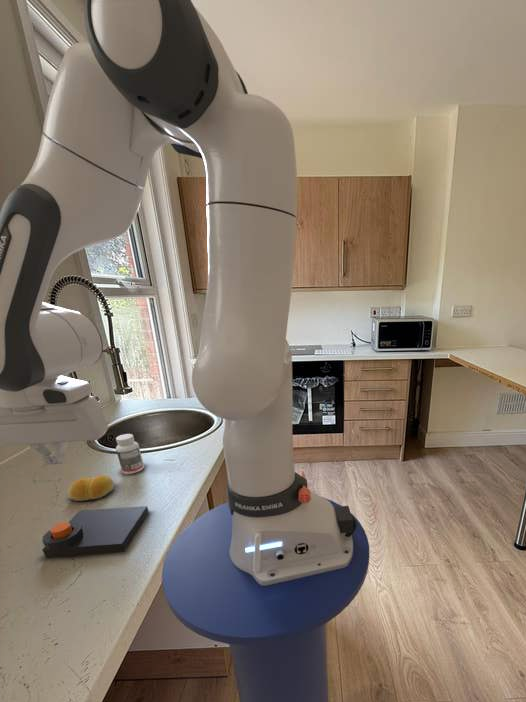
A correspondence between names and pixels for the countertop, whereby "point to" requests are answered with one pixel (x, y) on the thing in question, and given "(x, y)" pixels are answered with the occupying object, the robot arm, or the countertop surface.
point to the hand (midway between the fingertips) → (55, 462)
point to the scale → (97, 532)
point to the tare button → (61, 530)
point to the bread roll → (90, 488)
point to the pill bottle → (129, 454)
